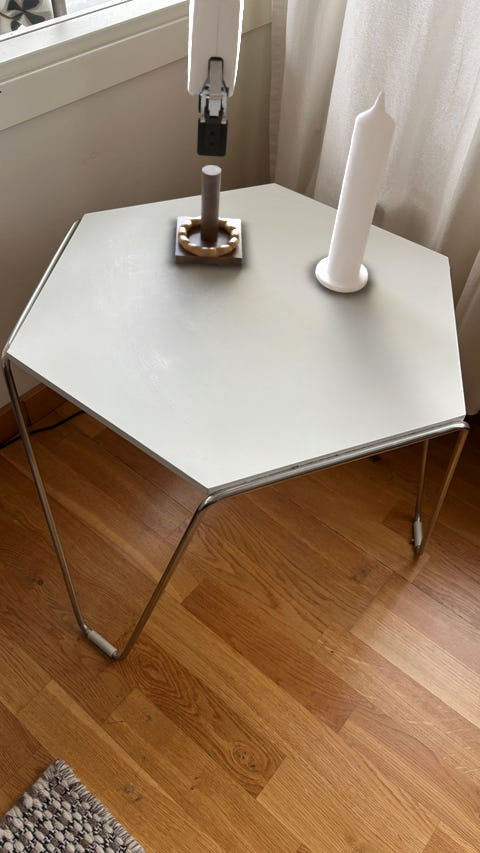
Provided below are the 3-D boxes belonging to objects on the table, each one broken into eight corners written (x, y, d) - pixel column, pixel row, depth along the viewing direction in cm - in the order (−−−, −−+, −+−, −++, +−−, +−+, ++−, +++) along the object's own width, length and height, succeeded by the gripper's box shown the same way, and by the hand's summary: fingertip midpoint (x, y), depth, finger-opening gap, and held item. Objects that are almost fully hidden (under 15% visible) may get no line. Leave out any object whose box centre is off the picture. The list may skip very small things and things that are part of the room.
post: (175, 262, 95) (174, 188, 87) (177, 223, 101) (177, 150, 92) (241, 265, 96) (248, 191, 87) (240, 226, 102) (246, 153, 93)
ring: (176, 257, 94) (176, 250, 93) (178, 220, 99) (178, 213, 99) (239, 259, 95) (240, 252, 94) (238, 223, 100) (238, 215, 99)
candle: (366, 296, 93) (415, 111, 74) (313, 288, 94) (348, 101, 75) (368, 264, 98) (414, 81, 79) (317, 256, 98) (351, 72, 79)
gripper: (183, -66, 74) (181, 96, 87) (178, -6, 63) (176, 170, 76) (254, -60, 75) (241, 101, 88) (262, 0, 64) (245, 174, 77)
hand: (211, 133), depth 82 cm, fingers open, 9 cm apart
